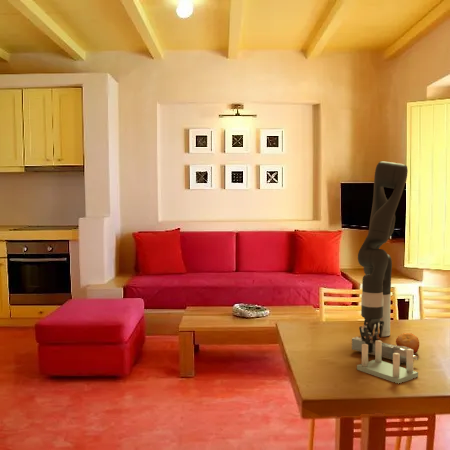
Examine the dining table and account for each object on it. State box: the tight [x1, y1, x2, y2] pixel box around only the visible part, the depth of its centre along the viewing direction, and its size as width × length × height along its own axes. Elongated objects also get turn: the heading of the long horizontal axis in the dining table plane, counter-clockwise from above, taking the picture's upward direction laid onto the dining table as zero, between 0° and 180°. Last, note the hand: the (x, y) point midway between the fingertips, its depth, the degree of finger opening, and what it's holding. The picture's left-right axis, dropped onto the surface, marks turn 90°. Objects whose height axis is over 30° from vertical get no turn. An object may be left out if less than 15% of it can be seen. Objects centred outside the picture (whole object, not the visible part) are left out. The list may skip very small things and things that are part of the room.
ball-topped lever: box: [351, 336, 419, 364], centre depth 177 cm, size 24×6×4 cm, turn 44°
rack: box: [356, 339, 419, 385], centre depth 162 cm, size 16×10×8 cm, turn 35°
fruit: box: [395, 332, 420, 355], centre depth 184 cm, size 8×8×8 cm
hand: (371, 351), depth 180 cm, fingers closed on ball-topped lever, 3 cm apart
